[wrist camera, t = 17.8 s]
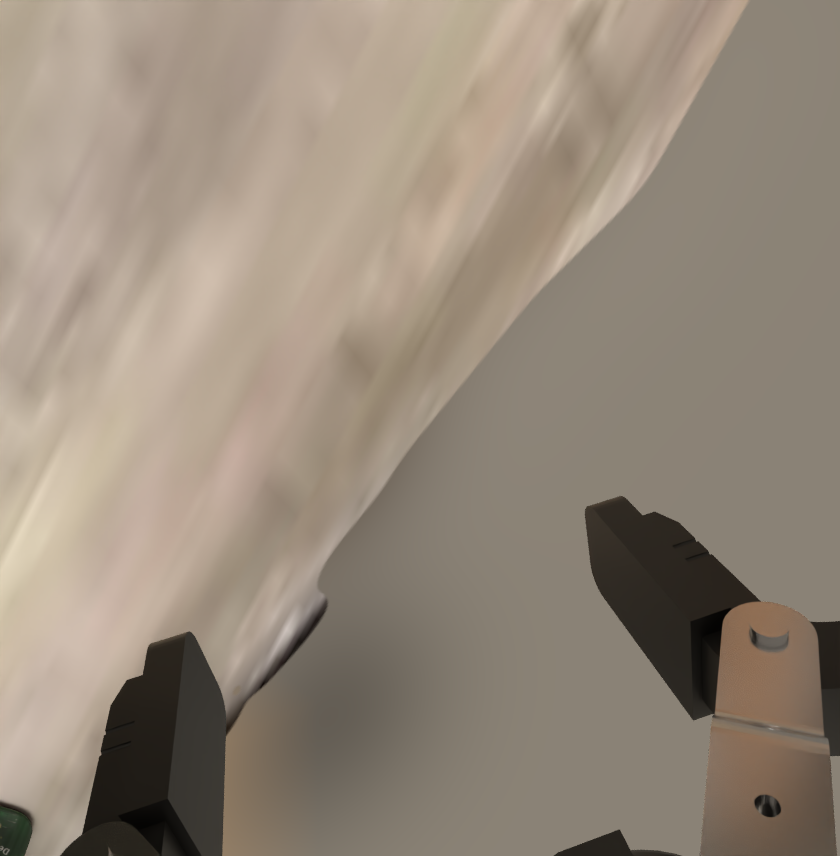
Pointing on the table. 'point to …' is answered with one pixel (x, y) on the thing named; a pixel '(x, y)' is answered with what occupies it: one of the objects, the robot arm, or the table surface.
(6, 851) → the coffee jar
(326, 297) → the table surface
